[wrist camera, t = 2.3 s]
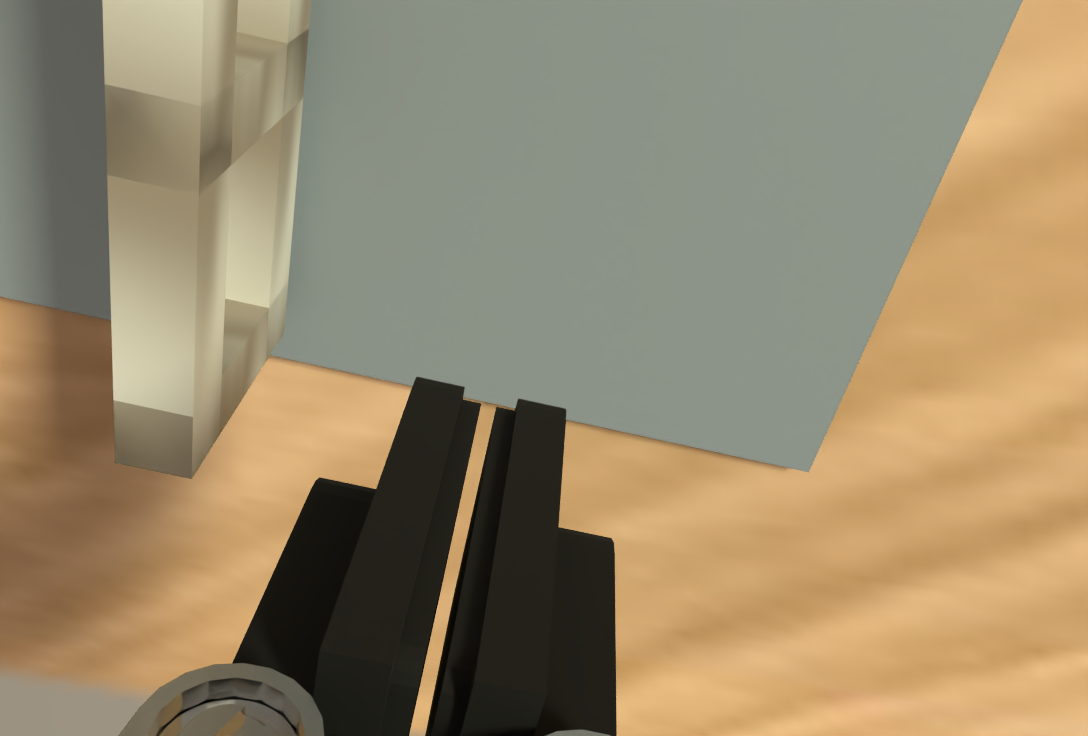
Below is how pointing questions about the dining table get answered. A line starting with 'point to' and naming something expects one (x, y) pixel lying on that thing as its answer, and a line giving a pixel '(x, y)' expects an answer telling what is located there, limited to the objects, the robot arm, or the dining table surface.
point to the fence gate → (197, 211)
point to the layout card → (561, 195)
